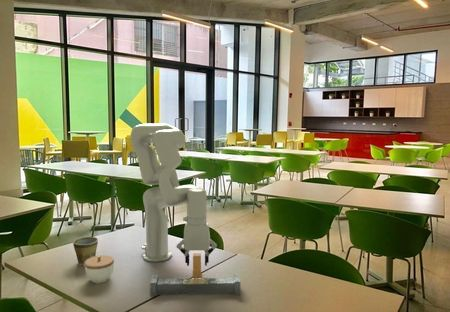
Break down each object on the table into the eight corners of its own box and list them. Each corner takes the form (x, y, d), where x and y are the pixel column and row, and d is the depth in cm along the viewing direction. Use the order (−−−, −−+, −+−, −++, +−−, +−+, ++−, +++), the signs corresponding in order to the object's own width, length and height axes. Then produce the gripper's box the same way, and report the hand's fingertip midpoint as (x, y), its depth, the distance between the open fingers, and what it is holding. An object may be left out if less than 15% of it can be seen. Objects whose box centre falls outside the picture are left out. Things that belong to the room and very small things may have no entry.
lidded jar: (85, 288, 136) (84, 264, 135) (84, 276, 146) (83, 253, 144) (115, 283, 140) (114, 259, 139) (113, 271, 150) (112, 249, 148)
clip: (200, 282, 141) (200, 258, 139) (192, 282, 140) (192, 258, 139) (201, 273, 148) (201, 250, 147) (193, 273, 148) (193, 250, 147)
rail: (150, 296, 130) (150, 282, 129) (153, 288, 136) (152, 275, 135) (240, 294, 131) (240, 281, 131) (239, 286, 137) (239, 274, 137)
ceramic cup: (99, 265, 155) (98, 243, 154) (74, 269, 152) (72, 246, 150) (97, 254, 167) (97, 233, 166) (74, 257, 164) (73, 236, 162)
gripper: (173, 223, 137) (173, 268, 140) (219, 223, 138) (219, 268, 140) (175, 217, 145) (175, 260, 147) (218, 217, 146) (218, 260, 148)
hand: (197, 264), depth 144 cm, fingers open, 6 cm apart
